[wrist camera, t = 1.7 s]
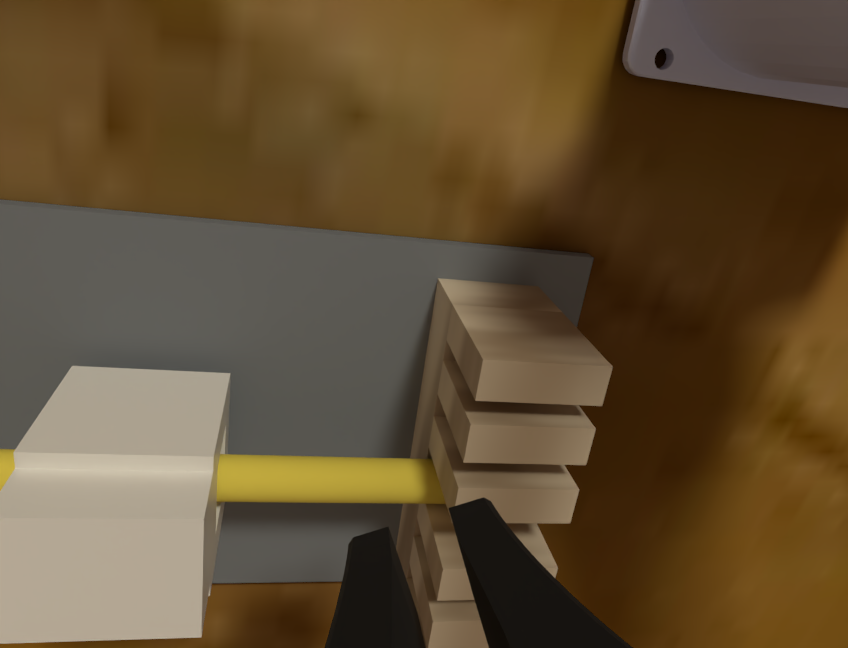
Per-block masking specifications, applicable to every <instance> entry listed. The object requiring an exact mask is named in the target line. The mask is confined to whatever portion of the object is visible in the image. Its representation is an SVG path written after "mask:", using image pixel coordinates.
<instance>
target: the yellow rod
mask: <svg viewBox="0 0 848 648" xmlns="http://www.w3.org/2000/svg"><path fill="white" fill-rule="evenodd" d="M14 451H15V449H0V491H1V489H2V488H3V486H4V485H5V483H6V482H7V480H8V478H9V477H10V475H11V474H12V472H13V471H14V469H15V462H14V453H13V452H14ZM217 502H288V503H399V504H446V502H445V499H444V496H443V493H442V489H441V486H440V483H439V480H438V476H437V473H436V470H435V467H434V463H433V460H432V459H410V458H366V457H323V456H280V455H236V454H220V458H219V463H218V470H217Z"/></svg>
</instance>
